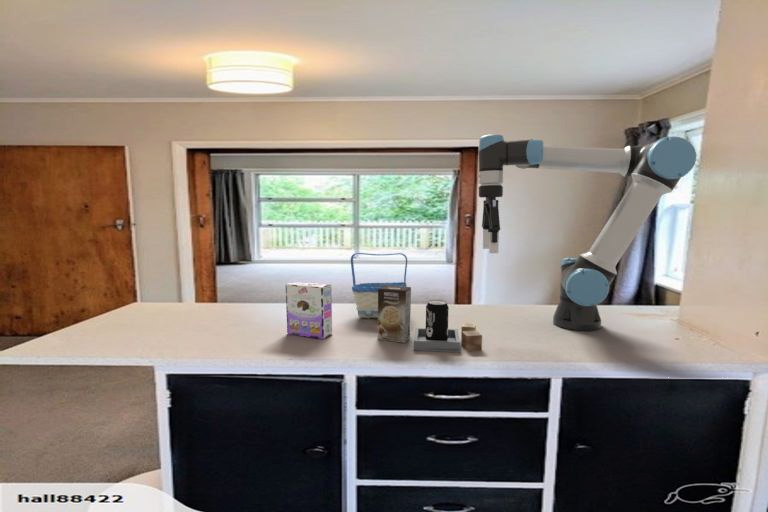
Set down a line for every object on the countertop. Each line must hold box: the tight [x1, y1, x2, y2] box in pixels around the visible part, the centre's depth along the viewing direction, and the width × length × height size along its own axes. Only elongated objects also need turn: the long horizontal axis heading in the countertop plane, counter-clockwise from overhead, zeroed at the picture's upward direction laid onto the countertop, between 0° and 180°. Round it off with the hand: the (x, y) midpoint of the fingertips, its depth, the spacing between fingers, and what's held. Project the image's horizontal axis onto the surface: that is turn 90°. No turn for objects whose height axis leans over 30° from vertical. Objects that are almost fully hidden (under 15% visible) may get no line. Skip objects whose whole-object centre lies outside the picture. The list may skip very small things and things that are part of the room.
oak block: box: [460, 322, 477, 340], centre depth 138 cm, size 4×4×4 cm
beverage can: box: [425, 299, 449, 341], centre depth 131 cm, size 7×7×12 cm
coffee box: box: [376, 285, 412, 343], centre depth 136 cm, size 9×6×16 cm
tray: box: [413, 327, 461, 353], centre depth 131 cm, size 13×13×3 cm
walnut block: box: [460, 330, 483, 352], centre depth 128 cm, size 4×4×4 cm
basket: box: [350, 252, 408, 319], centre depth 162 cm, size 21×16×24 cm
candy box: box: [285, 280, 333, 340], centre depth 140 cm, size 14×6×16 cm, turn 65°
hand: (490, 250), depth 145 cm, fingers open, 13 cm apart
